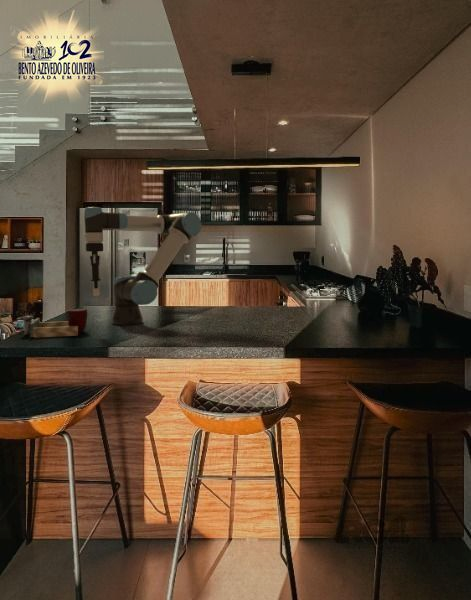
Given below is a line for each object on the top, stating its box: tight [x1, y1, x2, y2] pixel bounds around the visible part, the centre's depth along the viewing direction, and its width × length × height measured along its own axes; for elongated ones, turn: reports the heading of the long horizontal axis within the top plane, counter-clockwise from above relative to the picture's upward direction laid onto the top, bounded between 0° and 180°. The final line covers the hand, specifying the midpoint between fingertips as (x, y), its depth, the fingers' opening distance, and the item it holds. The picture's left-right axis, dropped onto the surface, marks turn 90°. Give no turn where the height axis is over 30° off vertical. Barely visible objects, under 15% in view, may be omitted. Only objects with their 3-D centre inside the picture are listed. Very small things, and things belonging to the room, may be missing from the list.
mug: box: [67, 308, 88, 334], centre depth 220 cm, size 10×8×10 cm
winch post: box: [21, 315, 34, 336], centre depth 216 cm, size 4×4×8 cm
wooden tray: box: [29, 317, 79, 338], centre depth 219 cm, size 19×16×6 cm
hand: (96, 295), depth 221 cm, fingers closed
